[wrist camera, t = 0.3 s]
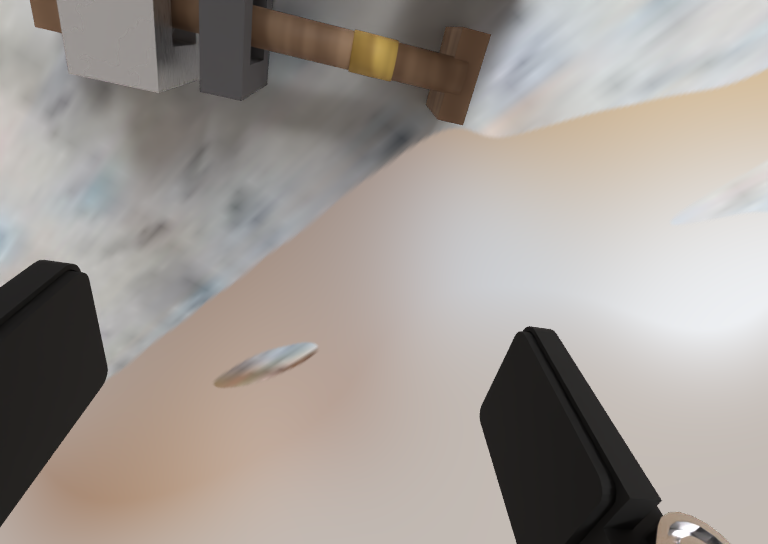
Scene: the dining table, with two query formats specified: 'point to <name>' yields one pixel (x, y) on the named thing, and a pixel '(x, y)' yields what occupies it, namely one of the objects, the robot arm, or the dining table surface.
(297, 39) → the dowel rail
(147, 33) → the sleeve
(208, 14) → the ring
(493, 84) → the dining table surface
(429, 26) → the dining table surface
